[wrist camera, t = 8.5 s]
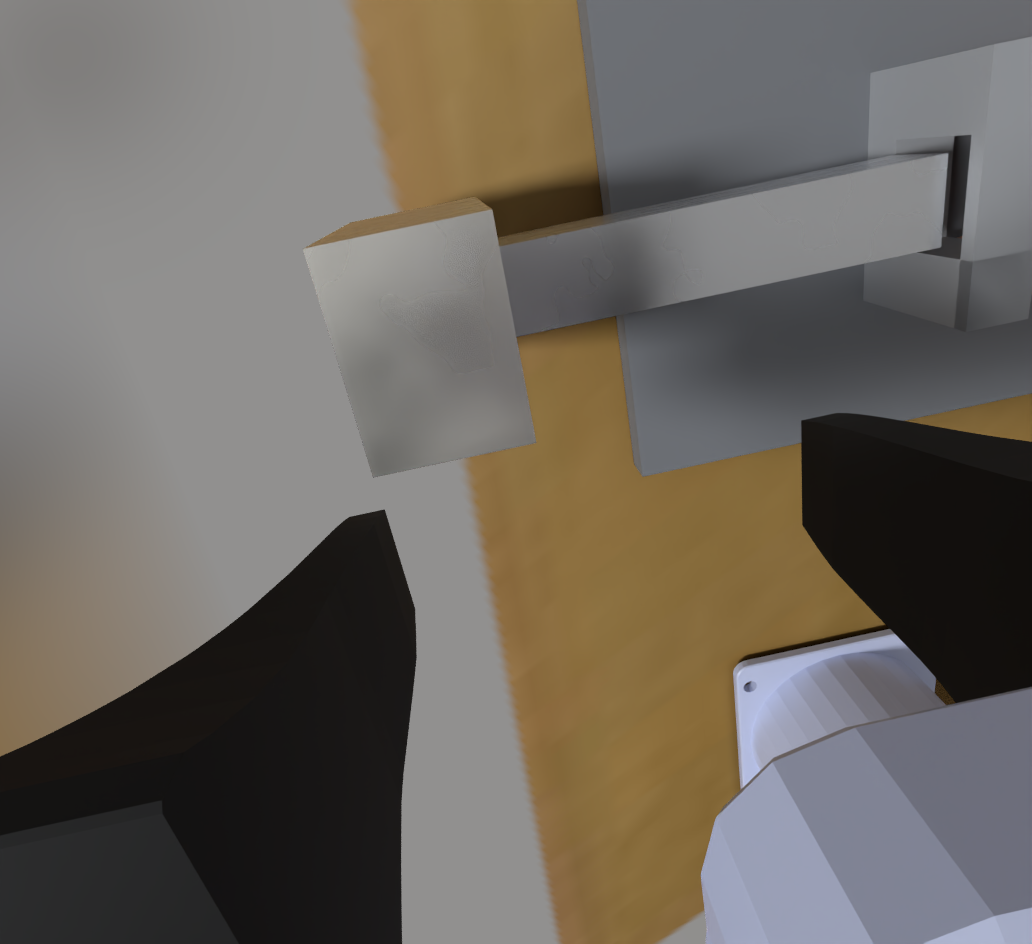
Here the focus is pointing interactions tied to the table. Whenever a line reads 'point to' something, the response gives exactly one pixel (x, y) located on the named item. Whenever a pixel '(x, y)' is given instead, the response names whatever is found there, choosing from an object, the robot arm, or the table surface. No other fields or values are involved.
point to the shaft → (573, 288)
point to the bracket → (807, 148)
